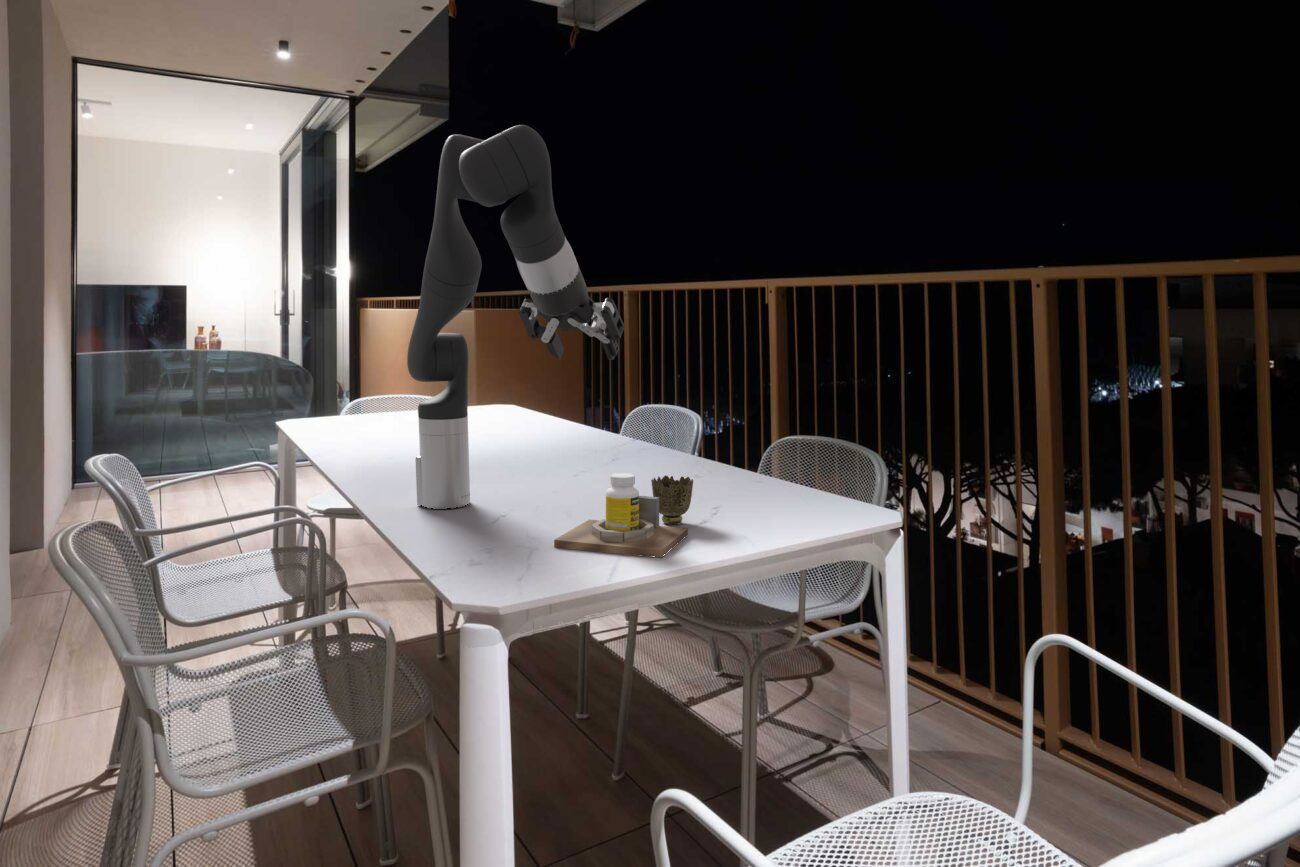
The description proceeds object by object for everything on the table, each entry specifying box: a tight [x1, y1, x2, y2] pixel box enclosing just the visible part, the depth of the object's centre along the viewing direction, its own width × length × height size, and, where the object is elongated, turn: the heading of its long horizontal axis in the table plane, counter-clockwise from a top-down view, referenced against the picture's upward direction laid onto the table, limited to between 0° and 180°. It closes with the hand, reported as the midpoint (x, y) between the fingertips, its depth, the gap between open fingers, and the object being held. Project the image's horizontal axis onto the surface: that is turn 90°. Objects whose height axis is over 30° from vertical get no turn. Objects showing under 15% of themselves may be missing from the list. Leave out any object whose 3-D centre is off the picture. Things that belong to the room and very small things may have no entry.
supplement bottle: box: [605, 472, 640, 531], centre depth 132 cm, size 5×5×10 cm
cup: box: [650, 474, 694, 526], centre depth 145 cm, size 8×7×8 cm
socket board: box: [553, 495, 689, 558], centre depth 133 cm, size 18×14×6 cm
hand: (586, 355), depth 121 cm, fingers open, 8 cm apart
